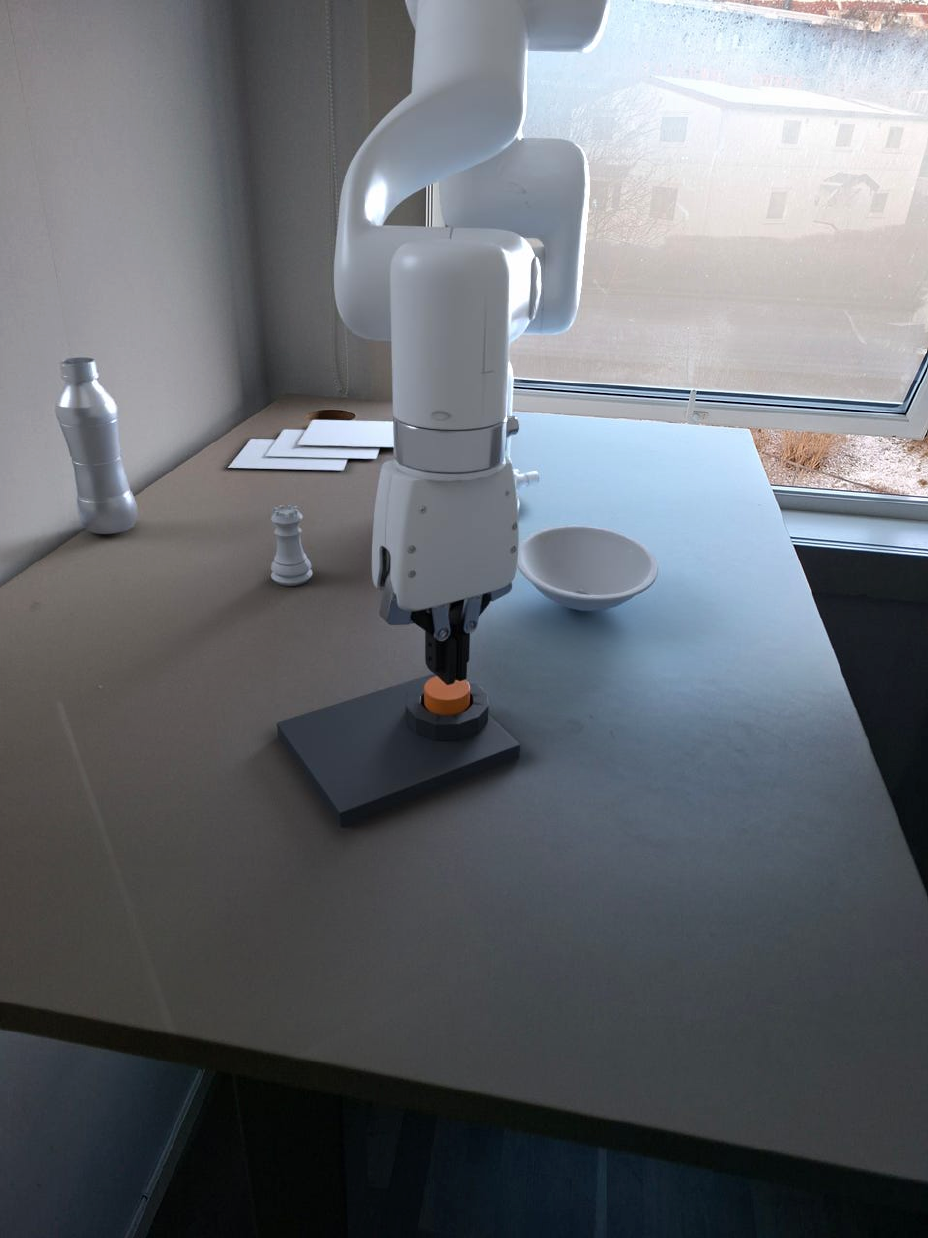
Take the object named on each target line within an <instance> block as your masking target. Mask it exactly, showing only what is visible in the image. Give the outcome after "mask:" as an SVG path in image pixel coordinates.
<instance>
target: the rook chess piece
mask: <svg viewBox="0 0 928 1238" xmlns="http://www.w3.org/2000/svg"><path fill="white" fill-rule="evenodd" d="M286 507H287V508H285V507H284V504H281V505H278V507H274V508H273V514H272V516H271V517H270V520H271V522H272V523H273V524H274V525H275V526H276V527H275V530H274V534H275V535H276V552H275V555H274V556H273V559H274V560H273V561H272V562H271V565H270V570H271V571H272V572H271V574H270V576H271V577H270V578H271V579H272V580H273V581H274V582H275V583H276V584H278V585H281V586H284V587H285V586H286V587H295V586H300V585H304V584H305V583H307V582H308V581H309V580H310V579H311V577H312V576H313V570H312V569H311V568H312V563H311V560H310V559H309V558H308V557H307V553H305V552H304V549H303V546H302V545H303V544H302V540H301V533H302V528H301V527H300V523H301V521H302V520H303V518H304V517H303V514H302V513H300V511H299V507H298V506H297V505H294V506H293V504H287V505H286Z"/></svg>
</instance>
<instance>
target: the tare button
mask: <svg viewBox="0 0 928 1238" xmlns="http://www.w3.org/2000/svg"><path fill="white" fill-rule="evenodd" d="M466 680H467V679H466ZM466 680H463V681H458V680H456V681H455V682H454V683H453V684H450V685H446V684H445V683H444V682H443V681H442V680H441V679H440V678H439V677H438V676H435V677H433V678H431V679H429V680H428V681H427V682H426V683H425V686H424V705H425V707H426V709H427V710H428V711H430V712H432V713H435V714H438V715H456V714H459V713H462V712H464V711H466V710H467V709H468V707H469V704H470V685H469V683H468V682H467V681H468V680H467V681H466Z"/></svg>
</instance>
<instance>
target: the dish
mask: <svg viewBox="0 0 928 1238" xmlns="http://www.w3.org/2000/svg"><path fill="white" fill-rule="evenodd" d="M517 570H518V571H519V572H520V574H521V575H522V576H523V577H524V578H525V579H526V580H527V581H528V582H530V583H531V584H532V585H533V587H535V588H536V590H538V591H539V593H541V594H542V595H543V596H544V597H546V598H548V599H549V600H550V601H552V602H554V603H556V604H558V605H560V606H563V607H565V608H567V609H571V610H576V611H581V612H582V611H583V612H597V611H603V610H604V611H605V610H608V609H612V608H615V607H618V606H621V605H622V604H624V603H626V602H628V601H629V600H632V599H633V598H634V597H635V596H638V595H639V594H642V593H643V592H645V591H646V590H648V589H649V588H650V587H651V586H653V584H654V583H655V581H656V580H657V577H658V574H659V564H658V560H657V559H656V557H655V556H654V553H652V551H651V550H650V549H648V547H647V546H646V545H644V544H643V543H641V541H638V540H636V539H635V538H633V537H631V536H629V535H626V534H624V533H622V532H619V531H616V530H613V529H609V528H604V527H600V526H594V525H593V526H592V525H583V524H566V525H557V526H556V525H555V526H551V527H546V528H542V529H540V530H536V531H535V532H532V533H530V534H529V535H527V536H526V537H524V538H523V539H522V540H521V541H520V542H519V551H518V564H517Z"/></svg>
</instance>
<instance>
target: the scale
mask: <svg viewBox="0 0 928 1238" xmlns="http://www.w3.org/2000/svg"><path fill="white" fill-rule="evenodd" d="M435 676H437V675H436V674H434V673H431V674H428V675H424V676H421V677H418V678H414V679H412V680H409V681H405V682H402V683H398V684H396V685H393V686H388V687H386V688H383V689H380V690H377V691H374V692H373V691H372V692H369V693H367V694H363V695H361V696H357V697H354V698H351V699H347V700H345V701H342V702H338V703H335V704H332V705H329V706H326V707H322V708H319V709H316V710H313V711H309V712H306V713H303V714H300V715H297V716H293V717H290V718H287V719H285V720H281V721H277V722H276V729H277V737H278V738H279V740H280V741H281V742H282V745H283V746H284V747H285V749H287V751H288V753H289V755H290V756H291V757H292V759H293V760H294V762H295V763H296V765H297V766H298V768H299V769H300V771H302V773H303V775H304V776H305V778H306V779H307V781H308V782H309V783H310V785H311V786H312V787H313V790H314V791H315V792H316V794H317V796H318V797H319V798H320V799H321V801H322V802H323V804H324V805H325V807H326V808H327V809H328V811H329V813H330V814H331V816H332V817H333V818H334V820H335V821H336V823H337V824H338V825H339V827H340V828H344V827H347V826H349V825H351V824H354V823H357V822H359V821H362V820H365V819H367V818H369V817H372V816H375V815H377V814H379V813H382V812H385V811H388V810H390V809H394V808H396V807H398V806H400V805H403V804H405V803H408V802H410V801H413V800H417V799H419V798H421V797H423V796H426V795H429V794H431V793H433V792H434V793H435V792H436V791H439V790H441V789H444V788H446V787H449V786H451V785H452V786H453V785H454V784H457V783H459V782H462V781H464V780H467V779H470V778H472V777H475V776H477V775H480V774H482V773H484V772H487V771H490V770H493V769H495V768H498V767H501V766H503V765H505V764H508V763H512V762H513V761H516V760H518V759H520V754H521V744H520V743H519V742H518V741H517V740H516V739H515V738H514V737H513V736H512V735H511V734H510V733H509V732H507V730H506V729H504V728H503V727H502V726H501V725H500V724H499V723H498V722H497V721H495V720H494V719H493V718H492V717H491V716H490V715H489V709H490V708H489V697H488V695H489V694H488V692H487V691H485V690H484V689H483V688H482V687H481V686H480V685H478V683H476V682H474V681H470V680H467V679H466V681H467V682H468V683H469V685H470V704H469V707H468V709H467V710H466V711H464V712H462V713H459V714H456V715H438V714H435V713H432V712H430V711H428V710H427V709H426V707H425V705H424V686H425V683H426V682H427V681H428V680H429V679H431V678H433V677H435Z"/></svg>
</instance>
